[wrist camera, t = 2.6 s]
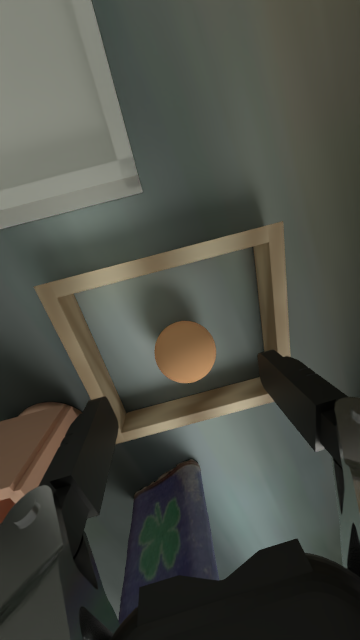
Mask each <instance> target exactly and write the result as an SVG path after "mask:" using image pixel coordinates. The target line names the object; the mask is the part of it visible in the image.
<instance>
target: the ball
mask: <svg viewBox="0 0 360 640" xmlns="http://www.w3.org/2000/svg"><path fill="white" fill-rule="evenodd" d="M215 358H216V347H215V342H214V340H213V338H212V336H211V334H210V333H209V332H208V331H207V329H205V328H204V327H203V326H201V325H200V324H198V323H195V322H191V321H179V322H175V323H173V324H171V325H169V326H168V327H166V328H165V329H164V330H163V331H162V332H161V334H160V335H159V337H158V339H157V341H156V344H155V359H156V363H157V365H158V367H159V369H160V370H161V372H162V373H163V374H164V375H165V376H166V377H168V378H169V379H171V380H173V381H176V382H179V383H192V382H195V381H198V380H200V379H202V378H203V377H204V376H206V375H207V374H208V373H209V371H210V370H211V368H212V367H213V364H214V362H215Z"/></svg>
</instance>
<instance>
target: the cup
mask: <svg viewBox="0 0 360 640" xmlns="http://www.w3.org/2000/svg"><path fill="white" fill-rule="evenodd" d="M79 414H82V412H81V411H80V410H78V409H76V408H74V407H72V406H70V405H67V404H63V403H57V402H44V403H38V404H35V405H32V406H30V407H28V408H26V409H25V410H24V411H22V412H21V413H20V414H19V416H18V417H15V418H11V419H8V420H4V421H0V524H1V523H2V522H3V520H4V518H5V517H6V515H7V514H8V512H9V511H10V510H11V508H12V507H13V506H14V505H15V504H16V503H17V502H18V501H19V500H20V499H21V498H22V497H23V496H24V495H25V494H27V493H28V492H29V491H31V490H33V489H34V488H36V487H38V486H39V484H40V482H41V480H42V478H43V476H44V474H45V472H46V470H47V469H48V467H49V465H50V463H51V461H52V459H53V457H54V455H55V453H56V451H57V449H58V448H59V447H60V444H61V442H62V440H63V438H64V437H65V434H66V432H67V430H68V428H69V427H70V425H71V423H72V422H73V421H74V420H75V419H76V418H77V417H78V415H79Z"/></svg>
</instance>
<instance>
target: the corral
mask: <svg viewBox="0 0 360 640" xmlns="http://www.w3.org/2000/svg"><path fill="white" fill-rule="evenodd" d="M249 247H253V249H254V258H255V268H256V277H257V286H258V296H259V305H260V314H261V324H262V333H263V343H264V352H265V351H268V350H272V349H273V350H275V351H276V352H278V353H279V354H280V355H282V356H283V357H285V356H289V357H290V340H289V321H288V303H287V284H286V266H285V247H284V229H283V221H282V222H278V223H275V224H271V225H267V226H263V227H259V228H256V229H252V230H248V231H244V232H240V233H236V234H233V235H229V236H225V237H221V238H217V239H214V240H210V241H206V242H202V243H198V244H194V245H191V246H187V247H183V248H179V249H175V250H172V251H168V252H164V253H160V254H156V255H152V256H149V257H145V258H141V259H137V260H133V261H130V262H126V263H122V264H118V265H114V266H110V267H107V268H103V269H99V270H95V271H91V272H88V273H84V274H80V275H76V276H72V277H68V278H65V279H61V280H57V281H53V282H49V283H46V284H42V285H38V286H34V288H35V290H36V292H37V294H38V296H39V298H40V300H41V302H42V304H43V306H44V308H45V310H46V312H47V314H48V316H49V318H50V320H51V322H52V324H53V326H54V328H55V330H56V331H57V333H58V335H59V337H60V339H61V341H62V343H63V345H64V347H65V349H66V351H67V353H68V355H69V357H70V359H71V361H72V363H73V365H74V367H75V369H76V371H77V373H78V375H79V377H80V379H81V380H82V382H83V384H84V386H85V388H86V390H87V392H88V394H89V396H90V398H91V400H93V399H96V398H100V397H103V396H106V397H107V398H108V400H109V402H110V404H111V406H112V409H113V411H114V413H115V415H116V417H117V419H118V425H119V430H118V435H117V439H116V444H118V443H122V442H126V441H129V440H133V439H137V438H141V437H144V436H148V435H152V434H155V433H159V432H163V431H167V430H170V429H174V428H178V427H181V426H185V425H189V424H192V423H196V422H200V421H204V420H207V419H211V418H215V417H218V416H222V415H226V414H230V413H233V412H237V411H241V410H244V409H248V408H252V407H255V406H259V405H263V404H267V403H270V402H274V400H273V399H272V398H271V396H270V395H269V394H268V393H267V392H266V390H265V389H264V387H263V385H262V383H261V380H260V377H258V378H254V379H250V380H247V381H243V382H239V383H235V384H232V385H228V386H224V387H221V388H217V389H213V390H209V391H206V392H202V393H198V394H194V395H191V396H187V397H183V398H180V399H176V400H172V401H168V402H165V403H161V404H157V405H154V406H150V407H146V408H142V409H139V410H135V411H131V412H127V413H126V411H125V409H124V407H123V404H122V402H121V400H120V398H119V395H118V393H117V391H116V389H115V386H114V384H113V382H112V379H111V377H110V375H109V373H108V370H107V368H106V366H105V364H104V361H103V359H102V357H101V355H100V352H99V350H98V348H97V346H96V343H95V341H94V339H93V337H92V334H91V332H90V330H89V328H88V325H87V323H86V321H85V319H84V316H83V314H82V312H81V310H80V307H79V305H78V303H77V301H76V298H75V296H74V293H77V292H81V291H85V290H89V289H93V288H96V287H100V286H104V285H108V284H112V283H116V282H119V281H123V280H127V279H131V278H135V277H138V276H142V275H146V274H150V273H154V272H157V271H161V270H165V269H169V268H173V267H176V266H180V265H184V264H188V263H192V262H195V261H199V260H203V259H207V258H211V257H215V256H218V255H222V254H226V253H230V252H234V251H237V250H241V249H245V248H249Z"/></svg>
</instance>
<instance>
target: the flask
mask: <svg viewBox="0 0 360 640" xmlns="http://www.w3.org/2000/svg"><path fill="white" fill-rule="evenodd" d="M197 463H198V462H195V461H194V460H193V459H190V460H189V461H185V462H181V463H180V464H178V465H176V466H177V467H176V468H174V469H172V470H170V471H169V472H166V473H165V474H163V475H162V476H160V477H159V479H158V480H157V481H156V482H152V483H151V484H150V485H149V486H148V487H144V488H143V489H142V490H140V491H137V492H136V493H135V496H134V503H133V514H132V523H131V529H130V535H129V540H128V549H127V560H126V567H125V576H124V583H123V588H122V596H121V603H120V612H119V620H118V621H119V624H120V625H121V623H122V622H123V621H124V619H125V618H126V617H127V616H128V615H129V614H130V613H131V612H132V611H133V610H134V609H135V608H136V607H138V600H139V587H142V586H145V585H148V584H151V583H155V582H158V581H161V580H164V579H168V578H171V577H174V576H177V575H182V576H189V577H196V578H204V579H211V580H219V576H218V570H217V565H216V560H215V554H214V548H213V542H212V536H211V529H210V523H209V517H208V513H207V508H206V502H205V497H204V490H203V484H202V478H201V469H200V467H199V465H198V464H197Z"/></svg>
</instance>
